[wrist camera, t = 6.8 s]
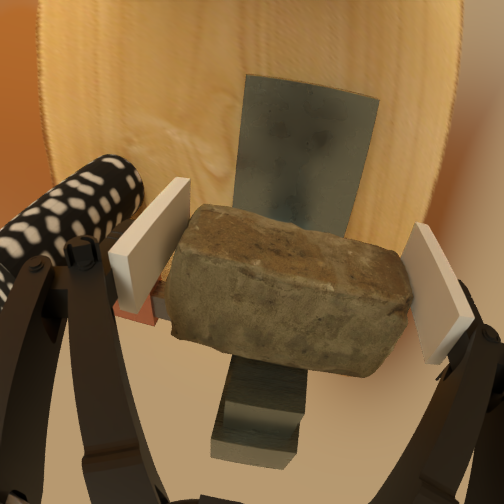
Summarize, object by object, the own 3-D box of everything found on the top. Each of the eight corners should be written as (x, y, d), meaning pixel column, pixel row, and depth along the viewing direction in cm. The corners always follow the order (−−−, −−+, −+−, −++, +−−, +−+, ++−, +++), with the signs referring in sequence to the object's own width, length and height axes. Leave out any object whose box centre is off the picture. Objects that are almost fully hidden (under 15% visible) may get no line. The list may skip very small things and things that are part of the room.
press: (249, 73, 26) (88, 133, 7) (376, 98, 25) (536, 224, 6) (230, 249, 38) (161, 444, 18) (330, 267, 37) (331, 473, 18)
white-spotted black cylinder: (155, 205, 36) (57, 331, 20) (107, 223, 39) (13, 334, 22) (124, 143, 32) (-9, 240, 16) (77, 169, 35) (-39, 263, 18)
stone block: (366, 320, 19) (373, 386, 15) (185, 279, 19) (155, 340, 15) (405, 245, 15) (430, 311, 11) (191, 193, 16) (150, 247, 12)
